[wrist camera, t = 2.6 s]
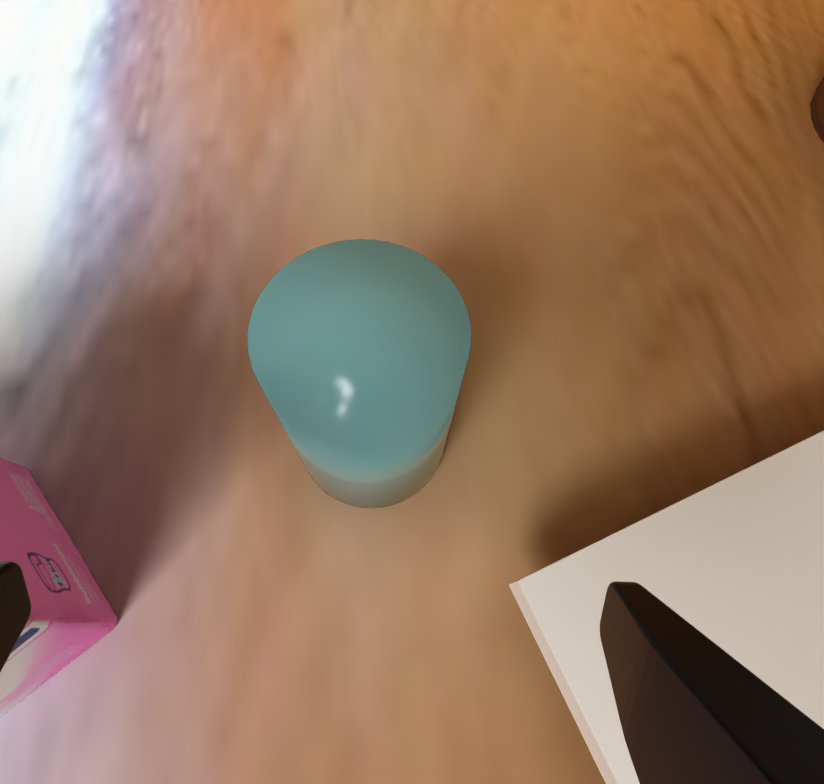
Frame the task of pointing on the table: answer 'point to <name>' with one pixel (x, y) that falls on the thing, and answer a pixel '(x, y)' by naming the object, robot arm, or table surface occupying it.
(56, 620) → the gum box
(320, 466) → the teal cup
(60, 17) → the table surface
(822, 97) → the food container
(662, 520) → the white slab
